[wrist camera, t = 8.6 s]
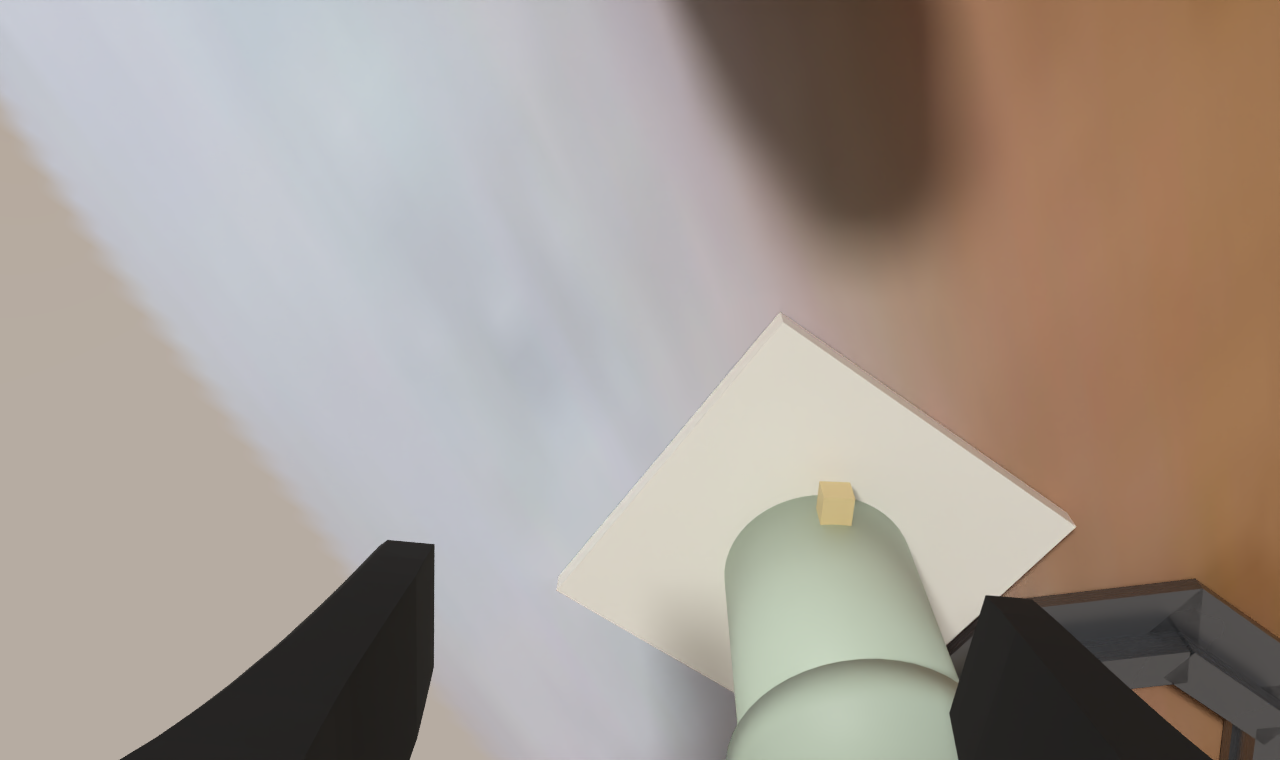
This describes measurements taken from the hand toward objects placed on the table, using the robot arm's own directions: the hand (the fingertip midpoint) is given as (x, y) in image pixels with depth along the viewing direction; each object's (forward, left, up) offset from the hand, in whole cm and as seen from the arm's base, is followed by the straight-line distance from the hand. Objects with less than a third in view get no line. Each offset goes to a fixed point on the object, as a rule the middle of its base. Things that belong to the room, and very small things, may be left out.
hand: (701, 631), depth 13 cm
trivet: (-6, +3, -10) cm, 12 cm away
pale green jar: (-6, +3, -10) cm, 12 cm away
